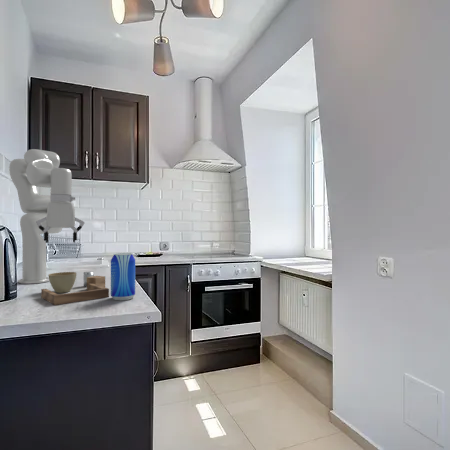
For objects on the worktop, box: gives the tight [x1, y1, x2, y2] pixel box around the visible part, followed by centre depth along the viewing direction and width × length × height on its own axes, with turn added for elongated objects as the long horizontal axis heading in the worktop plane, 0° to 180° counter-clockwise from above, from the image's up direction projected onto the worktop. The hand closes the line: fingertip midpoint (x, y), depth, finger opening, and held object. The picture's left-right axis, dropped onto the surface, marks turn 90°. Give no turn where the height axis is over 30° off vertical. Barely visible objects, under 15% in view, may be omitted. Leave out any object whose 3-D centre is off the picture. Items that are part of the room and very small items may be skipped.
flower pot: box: [47, 271, 78, 294], centre depth 130 cm, size 10×10×7 cm
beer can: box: [110, 252, 136, 301], centre depth 118 cm, size 8×8×16 cm
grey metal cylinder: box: [83, 271, 95, 288], centre depth 141 cm, size 4×4×6 cm
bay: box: [40, 283, 110, 306], centre depth 120 cm, size 16×18×3 cm
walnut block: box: [86, 275, 106, 290], centre depth 136 cm, size 5×5×5 cm
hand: (60, 242), depth 131 cm, fingers open, 9 cm apart
